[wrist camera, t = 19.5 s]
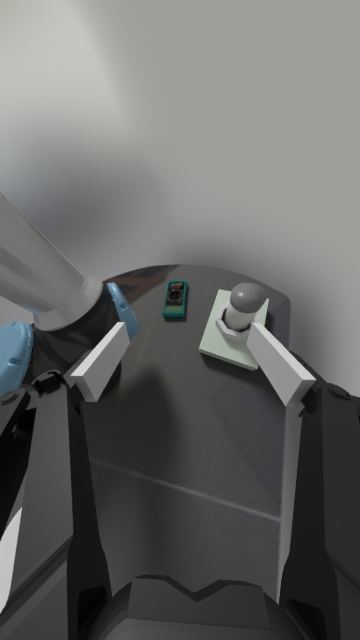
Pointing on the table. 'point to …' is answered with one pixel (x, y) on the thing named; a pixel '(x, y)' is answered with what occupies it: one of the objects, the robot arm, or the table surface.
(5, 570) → the plastic lid
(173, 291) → the digital multimeter
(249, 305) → the white grey-capped cylinder
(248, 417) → the table surface
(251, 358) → the octagonal ring base plate
